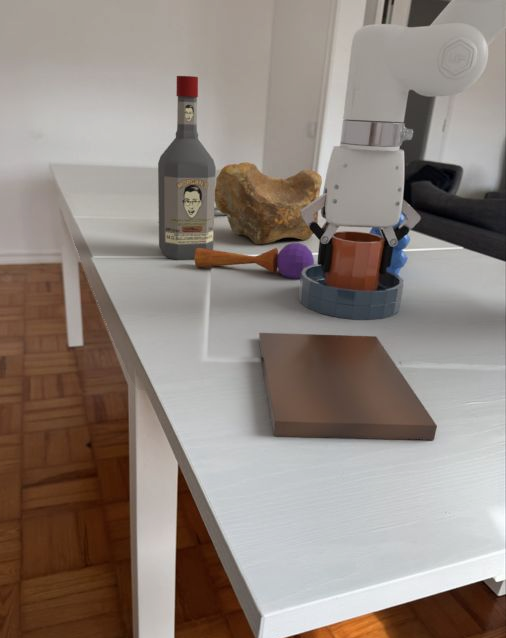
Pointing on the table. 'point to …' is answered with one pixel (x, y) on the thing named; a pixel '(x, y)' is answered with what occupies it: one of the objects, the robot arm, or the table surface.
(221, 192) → the rough brown rock
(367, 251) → the cup
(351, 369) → the board
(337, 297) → the bowl
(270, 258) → the kendama
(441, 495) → the table surface
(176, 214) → the liquor
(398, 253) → the grapes
